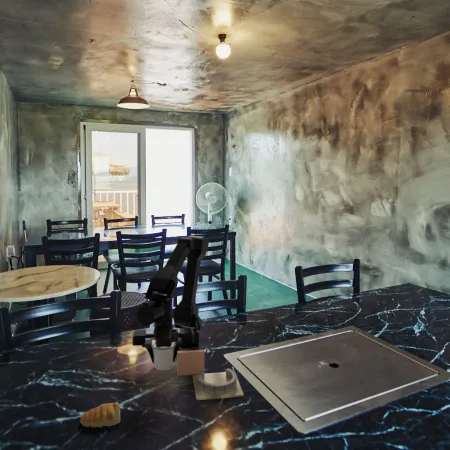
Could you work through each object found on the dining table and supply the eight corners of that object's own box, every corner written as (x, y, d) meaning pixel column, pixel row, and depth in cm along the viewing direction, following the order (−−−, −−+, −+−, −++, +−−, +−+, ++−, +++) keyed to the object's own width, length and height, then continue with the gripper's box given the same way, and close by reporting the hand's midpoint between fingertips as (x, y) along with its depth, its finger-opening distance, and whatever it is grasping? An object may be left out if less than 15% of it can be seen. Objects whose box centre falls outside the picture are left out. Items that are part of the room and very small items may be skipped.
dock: (196, 400, 102) (196, 389, 101) (192, 375, 115) (192, 366, 114) (243, 396, 104) (243, 386, 104) (234, 372, 117) (234, 363, 116)
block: (177, 375, 113) (177, 353, 112) (177, 373, 114) (177, 351, 114) (204, 373, 114) (204, 351, 114) (203, 371, 116) (203, 349, 115)
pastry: (80, 434, 88) (80, 418, 88) (80, 417, 94) (80, 402, 94) (122, 425, 91) (121, 410, 91) (119, 409, 98) (119, 395, 97)
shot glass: (178, 363, 122) (178, 342, 121) (166, 373, 116) (166, 351, 115) (160, 359, 125) (160, 338, 124) (148, 368, 119) (148, 346, 118)
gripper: (130, 325, 109) (131, 377, 111) (195, 322, 112) (195, 372, 114) (133, 312, 120) (134, 359, 122) (192, 310, 123) (192, 356, 125)
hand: (163, 362), depth 120 cm, fingers closed on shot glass, 6 cm apart
